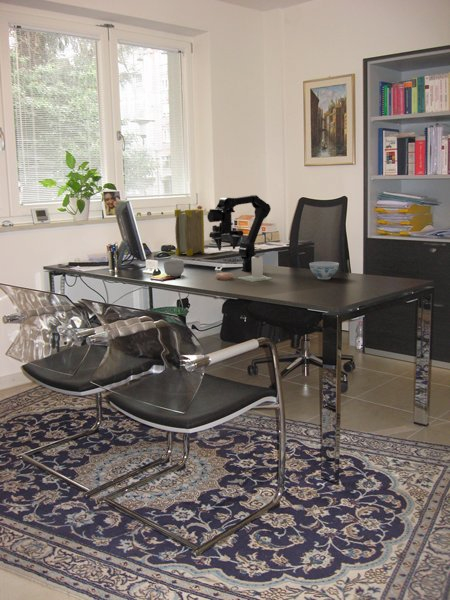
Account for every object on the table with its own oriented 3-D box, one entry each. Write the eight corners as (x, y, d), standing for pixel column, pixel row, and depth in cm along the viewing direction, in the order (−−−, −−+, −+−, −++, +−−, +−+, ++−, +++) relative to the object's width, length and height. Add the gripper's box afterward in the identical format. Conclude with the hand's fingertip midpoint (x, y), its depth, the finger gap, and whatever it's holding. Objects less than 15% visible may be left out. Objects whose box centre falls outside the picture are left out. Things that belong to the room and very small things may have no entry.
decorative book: (192, 251, 473) (191, 207, 468) (205, 252, 467) (204, 208, 461) (174, 255, 457) (173, 209, 451) (187, 256, 451) (186, 210, 445)
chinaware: (304, 277, 359) (304, 262, 358) (329, 275, 364) (329, 260, 363) (318, 281, 346) (318, 266, 344) (344, 279, 351) (344, 264, 349)
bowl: (226, 276, 366) (226, 271, 366) (236, 278, 359) (236, 274, 359) (212, 278, 362) (212, 273, 361) (222, 280, 354) (222, 275, 354)
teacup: (181, 277, 367) (180, 262, 365) (161, 277, 369) (160, 262, 367) (187, 273, 380) (187, 259, 379) (168, 273, 382) (168, 258, 381)
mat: (257, 276, 366) (257, 274, 366) (272, 279, 356) (272, 277, 356) (237, 278, 359) (237, 277, 359) (252, 281, 349) (252, 280, 349)
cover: (252, 276, 362) (251, 254, 360) (267, 277, 359) (267, 254, 357) (246, 278, 354) (246, 256, 352) (262, 279, 351) (262, 256, 349)
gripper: (232, 219, 383) (232, 247, 386) (203, 221, 373) (204, 250, 376) (243, 220, 374) (244, 249, 377) (214, 222, 364) (215, 251, 367)
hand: (226, 249), depth 374 cm, fingers open, 9 cm apart
